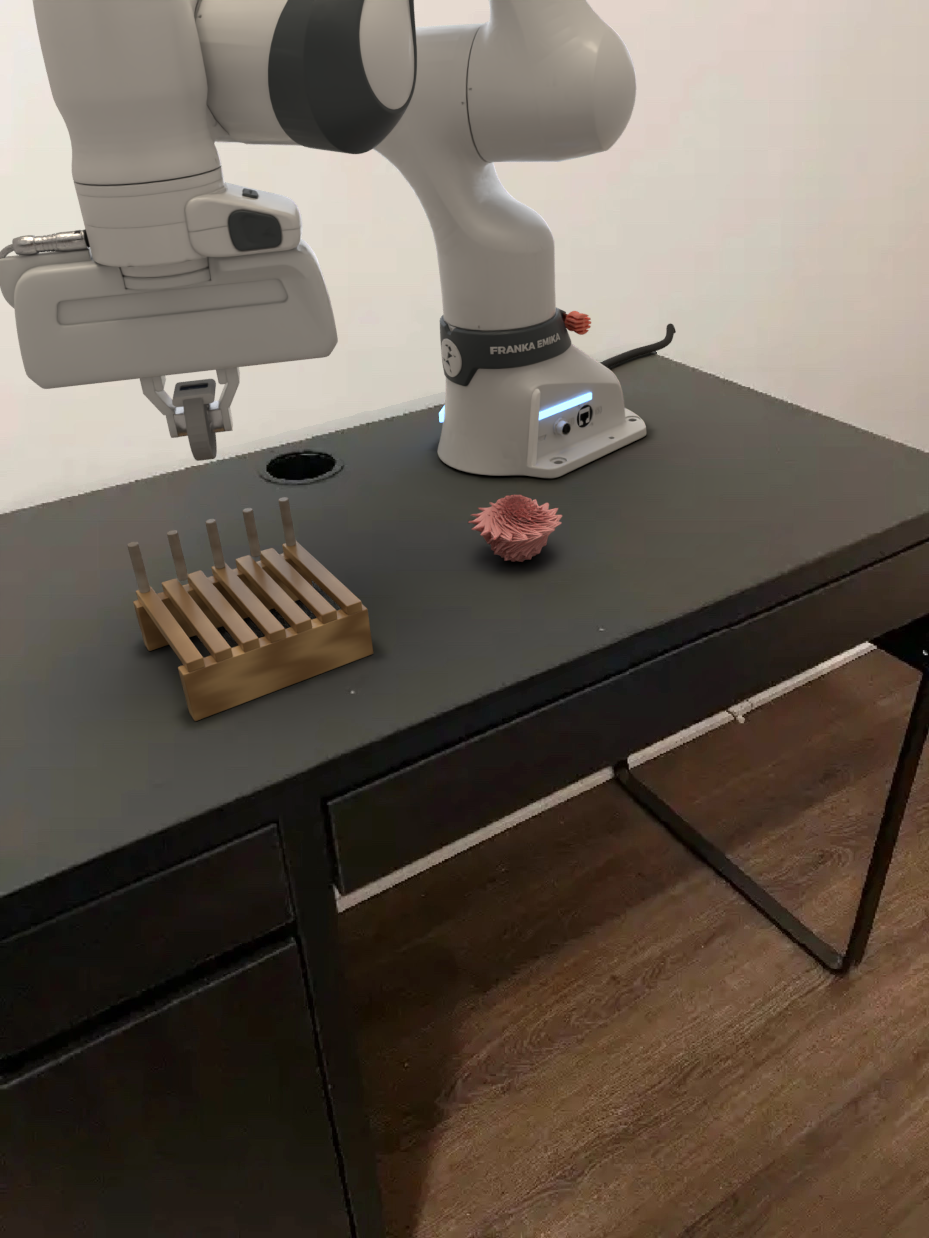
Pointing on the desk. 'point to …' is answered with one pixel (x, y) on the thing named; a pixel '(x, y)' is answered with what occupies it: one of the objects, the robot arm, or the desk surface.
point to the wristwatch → (197, 415)
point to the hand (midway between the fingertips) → (202, 431)
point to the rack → (250, 595)
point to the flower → (516, 526)
